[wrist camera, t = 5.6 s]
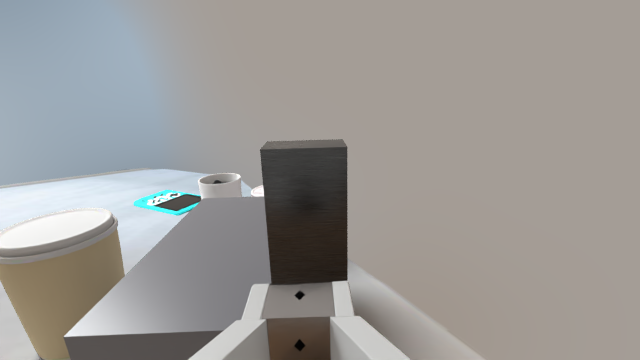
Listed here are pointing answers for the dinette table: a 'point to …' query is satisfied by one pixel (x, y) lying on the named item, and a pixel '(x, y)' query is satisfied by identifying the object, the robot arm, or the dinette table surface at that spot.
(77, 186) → the dinette table surface
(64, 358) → the coffee cup
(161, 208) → the handheld game console
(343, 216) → the side door
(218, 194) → the white cylindrical cup
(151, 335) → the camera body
